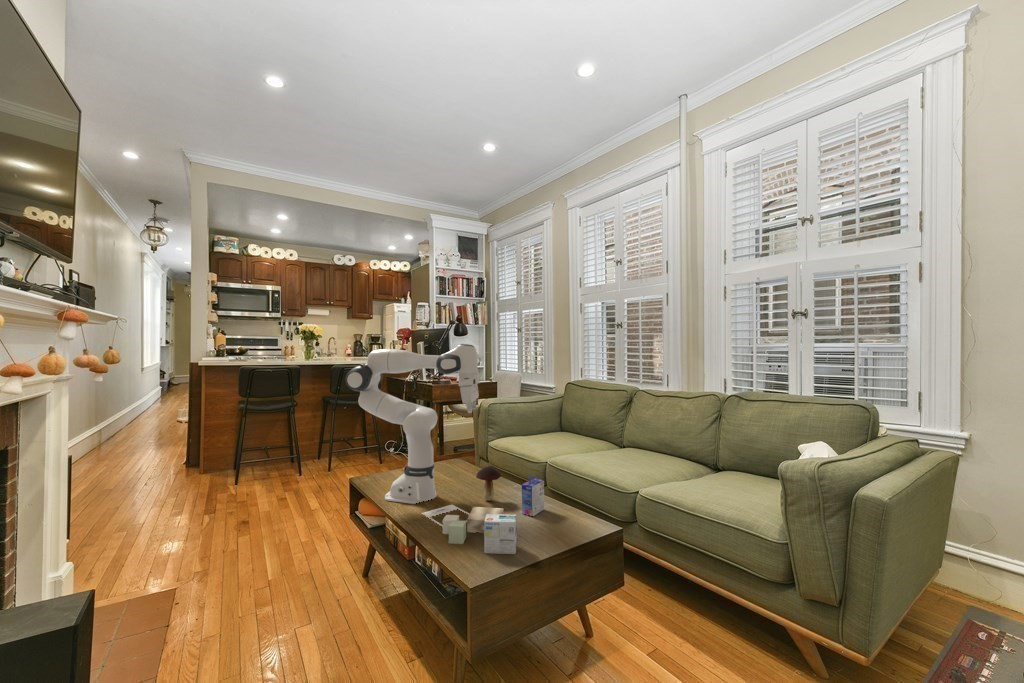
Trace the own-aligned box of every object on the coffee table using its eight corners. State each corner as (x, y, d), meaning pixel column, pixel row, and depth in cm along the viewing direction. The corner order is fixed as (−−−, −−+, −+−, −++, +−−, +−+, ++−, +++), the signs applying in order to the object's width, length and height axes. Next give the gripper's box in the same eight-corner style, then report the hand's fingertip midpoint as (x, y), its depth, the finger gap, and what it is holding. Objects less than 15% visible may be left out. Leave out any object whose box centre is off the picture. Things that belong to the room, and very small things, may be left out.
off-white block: (442, 533, 157) (442, 520, 157) (445, 528, 162) (446, 514, 162) (456, 534, 156) (456, 520, 156) (459, 528, 161) (459, 515, 161)
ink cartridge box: (533, 506, 183) (533, 472, 184) (544, 509, 180) (545, 474, 180) (520, 514, 175) (521, 478, 175) (532, 517, 172) (533, 480, 172)
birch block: (467, 532, 158) (467, 519, 158) (473, 519, 170) (473, 506, 170) (499, 534, 157) (499, 520, 157) (503, 521, 169) (503, 508, 169)
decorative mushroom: (491, 507, 182) (491, 471, 182) (470, 501, 188) (471, 467, 188) (506, 499, 191) (506, 465, 191) (486, 494, 197) (486, 461, 197)
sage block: (448, 543, 149) (448, 525, 149) (452, 536, 154) (452, 520, 154) (462, 544, 149) (463, 526, 149) (465, 537, 154) (466, 520, 154)
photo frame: (452, 504, 184) (477, 517, 170) (452, 506, 184) (477, 519, 170) (421, 512, 174) (445, 527, 161) (421, 515, 174) (445, 530, 161)
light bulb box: (516, 545, 148) (516, 513, 148) (516, 554, 142) (516, 521, 142) (485, 544, 149) (485, 512, 149) (483, 553, 142) (483, 521, 142)
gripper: (467, 378, 203) (469, 408, 202) (457, 382, 182) (460, 415, 182) (480, 377, 202) (483, 407, 202) (472, 381, 182) (474, 414, 181)
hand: (472, 411), depth 192 cm, fingers open, 8 cm apart
